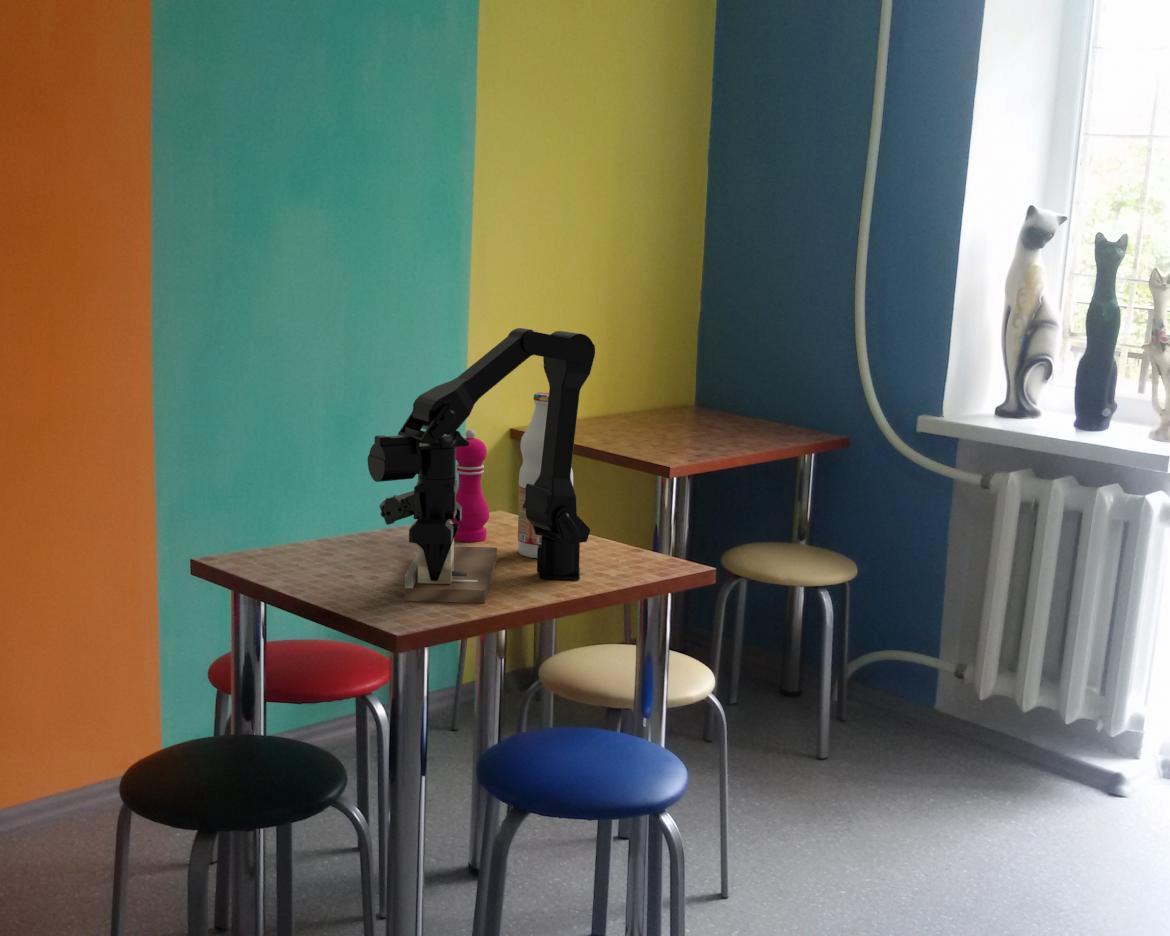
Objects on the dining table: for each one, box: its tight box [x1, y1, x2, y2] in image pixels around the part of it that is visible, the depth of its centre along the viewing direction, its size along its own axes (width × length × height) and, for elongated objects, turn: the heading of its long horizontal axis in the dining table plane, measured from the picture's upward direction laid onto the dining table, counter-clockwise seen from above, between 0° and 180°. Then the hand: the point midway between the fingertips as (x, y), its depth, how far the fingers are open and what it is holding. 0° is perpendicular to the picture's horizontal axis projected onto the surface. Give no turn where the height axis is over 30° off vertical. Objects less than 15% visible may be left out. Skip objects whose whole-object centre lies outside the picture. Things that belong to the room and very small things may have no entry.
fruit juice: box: [517, 391, 574, 559], centre depth 238 cm, size 9×9×28 cm
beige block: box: [417, 540, 467, 584], centre depth 212 cm, size 7×5×6 cm
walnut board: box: [404, 545, 498, 604], centre depth 221 cm, size 12×28×4 cm, turn 0°
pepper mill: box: [449, 428, 490, 543], centre depth 249 cm, size 7×7×20 cm
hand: (436, 576), depth 212 cm, fingers closed on beige block, 5 cm apart
